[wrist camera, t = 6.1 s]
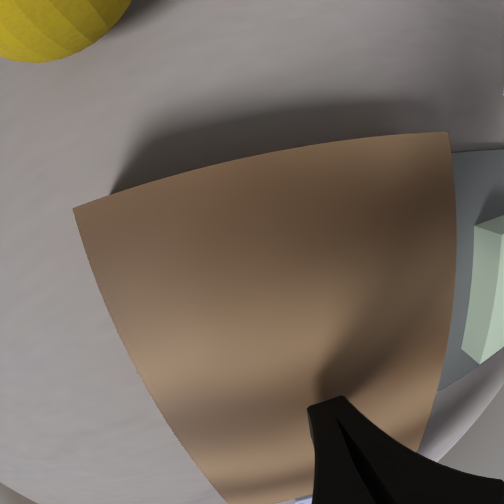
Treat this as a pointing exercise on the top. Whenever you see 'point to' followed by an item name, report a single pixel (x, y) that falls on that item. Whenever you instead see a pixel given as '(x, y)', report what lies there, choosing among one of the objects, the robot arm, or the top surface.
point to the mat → (470, 243)
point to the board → (283, 298)
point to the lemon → (54, 27)
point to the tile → (486, 292)
